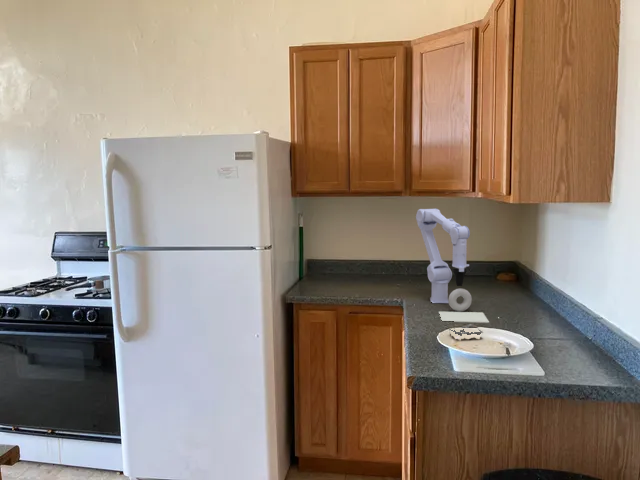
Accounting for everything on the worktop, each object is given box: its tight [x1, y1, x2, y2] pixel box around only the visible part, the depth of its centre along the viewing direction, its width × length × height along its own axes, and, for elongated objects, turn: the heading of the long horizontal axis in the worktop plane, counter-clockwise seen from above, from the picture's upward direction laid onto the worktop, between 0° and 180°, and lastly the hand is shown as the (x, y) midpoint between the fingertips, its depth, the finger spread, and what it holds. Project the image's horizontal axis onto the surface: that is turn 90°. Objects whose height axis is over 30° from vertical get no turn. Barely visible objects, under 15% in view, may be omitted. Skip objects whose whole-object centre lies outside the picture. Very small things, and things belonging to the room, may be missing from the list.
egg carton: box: [448, 323, 484, 336], centre depth 173 cm, size 11×8×4 cm
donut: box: [448, 288, 473, 312], centre depth 207 cm, size 10×4×10 cm, turn 94°
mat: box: [438, 311, 490, 324], centre depth 198 cm, size 14×18×1 cm
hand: (459, 285), depth 211 cm, fingers closed
